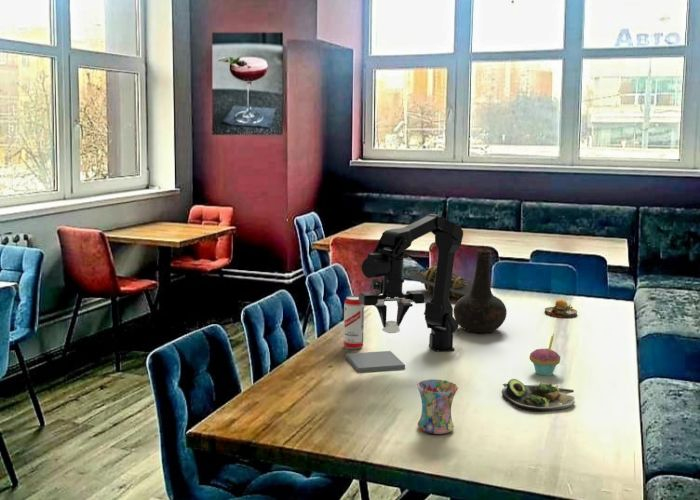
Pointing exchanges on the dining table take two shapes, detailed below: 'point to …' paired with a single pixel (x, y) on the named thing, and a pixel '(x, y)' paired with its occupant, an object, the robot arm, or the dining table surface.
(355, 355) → the coaster
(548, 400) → the salad plate
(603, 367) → the dining table surface
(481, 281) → the dark brown vase
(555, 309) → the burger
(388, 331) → the white jar
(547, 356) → the cupcake
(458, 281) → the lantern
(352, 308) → the beer can
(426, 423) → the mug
